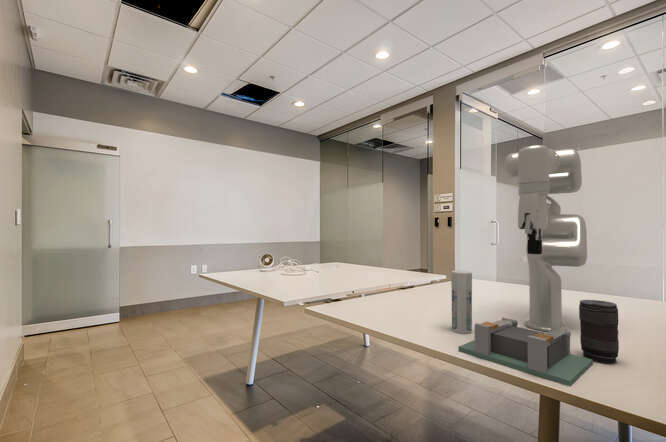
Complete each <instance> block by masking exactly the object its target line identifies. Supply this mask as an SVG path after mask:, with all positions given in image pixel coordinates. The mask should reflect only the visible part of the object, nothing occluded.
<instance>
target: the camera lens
mask: <svg viewBox="0 0 666 442" xmlns="http://www.w3.org/2000/svg"><path fill="white" fill-rule="evenodd" d="M578 311H579V312H578V313H579V314H578V317H579V322H580V328H579V329H580V336H579V337H580V338H579V340H580V347H581V351H582V354H583V355H582V356H583V357H584V358H588V359H592V360H593V362H596V363H601V364H607V365H608V364H609V365H610V364H611V365H613V364H616V362H617V358H618V357H619V350H620V348H619V346H620V345H619V327H618V326H619V308H618V305H617V303H615V302H610V301H605V300H596V299H581V300H579V305H578Z"/></svg>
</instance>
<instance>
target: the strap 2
mask: <svg viewBox="0 0 666 442" xmlns="http://www.w3.org/2000/svg"><path fill="white" fill-rule="evenodd" d="M544 333H545V334H540V333H538V334H536V335H534V336H535V337H539V338H543V339H547V347H548V346H550V345H552V344H554V343H556V342H557V341H559V340H561V339H563V338H564V337H566V333H564V332H559V331H555V330H552V331H550V332H544Z"/></svg>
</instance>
